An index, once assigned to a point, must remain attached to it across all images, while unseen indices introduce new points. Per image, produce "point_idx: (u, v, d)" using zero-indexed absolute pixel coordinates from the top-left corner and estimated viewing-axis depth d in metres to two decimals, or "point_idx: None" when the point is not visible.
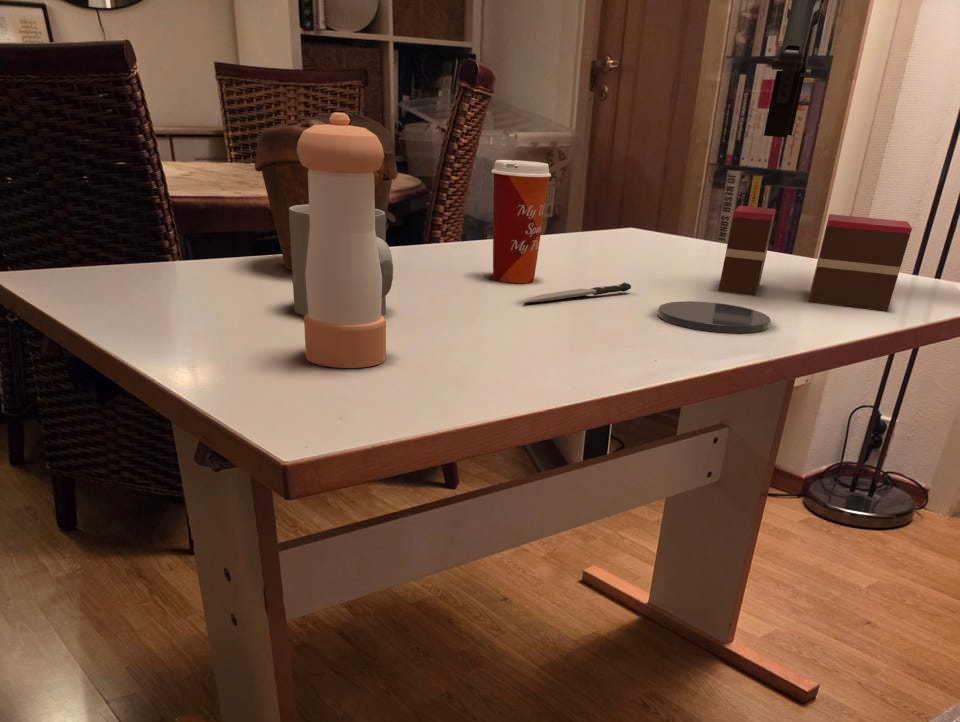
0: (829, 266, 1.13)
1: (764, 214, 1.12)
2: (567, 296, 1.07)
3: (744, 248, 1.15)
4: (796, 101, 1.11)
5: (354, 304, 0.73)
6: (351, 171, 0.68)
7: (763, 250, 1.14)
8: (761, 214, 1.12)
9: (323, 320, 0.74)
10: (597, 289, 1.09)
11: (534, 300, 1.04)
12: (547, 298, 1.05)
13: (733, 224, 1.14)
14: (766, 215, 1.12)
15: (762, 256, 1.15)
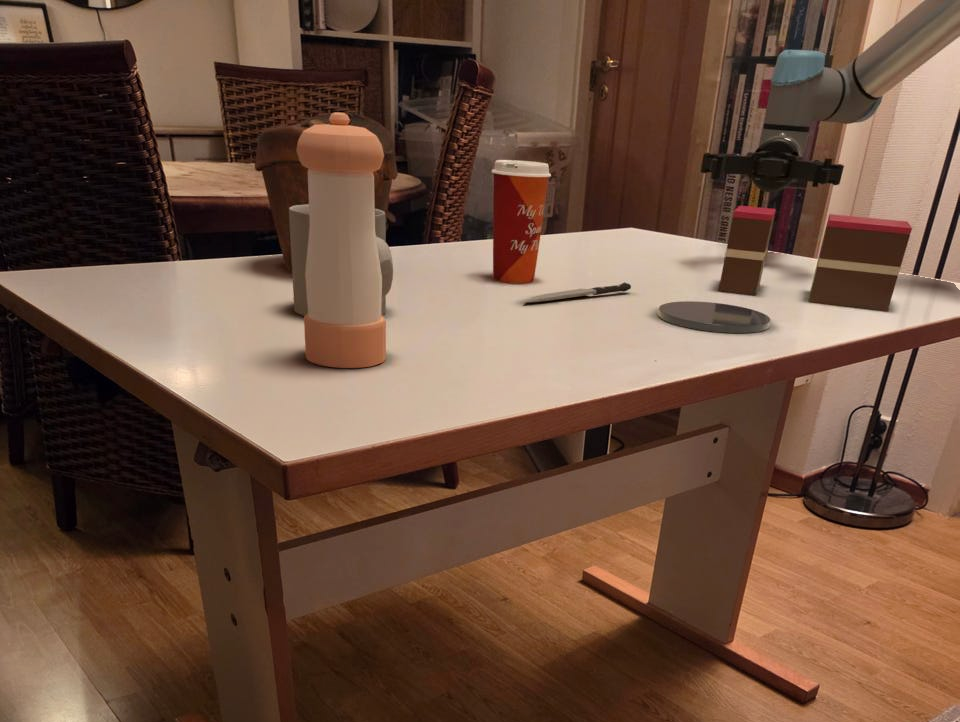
0: (829, 266, 1.13)
1: (764, 214, 1.12)
2: (567, 296, 1.07)
3: (744, 248, 1.15)
4: (722, 174, 1.27)
5: (354, 304, 0.73)
6: (351, 171, 0.68)
7: (763, 250, 1.14)
8: (761, 214, 1.12)
9: (323, 320, 0.74)
10: (597, 289, 1.09)
11: (534, 300, 1.04)
12: (547, 298, 1.05)
13: (733, 224, 1.14)
14: (766, 215, 1.12)
15: (762, 256, 1.15)
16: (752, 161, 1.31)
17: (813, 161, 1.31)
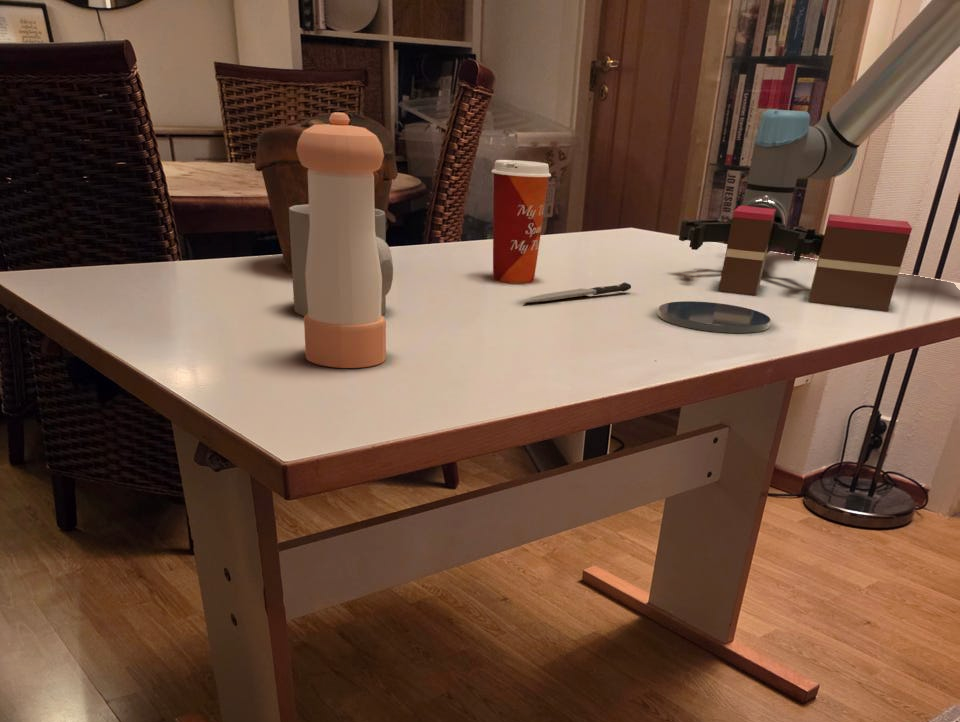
0: (829, 266, 1.13)
1: (764, 214, 1.12)
2: (567, 296, 1.07)
3: (744, 248, 1.15)
4: (700, 244, 1.21)
5: (354, 304, 0.73)
6: (351, 171, 0.68)
7: (763, 250, 1.14)
8: (761, 214, 1.12)
9: (323, 320, 0.74)
10: (597, 289, 1.09)
11: (534, 300, 1.04)
12: (547, 298, 1.05)
13: (733, 224, 1.14)
14: (766, 215, 1.12)
15: (762, 256, 1.15)
16: None
17: (797, 228, 1.26)
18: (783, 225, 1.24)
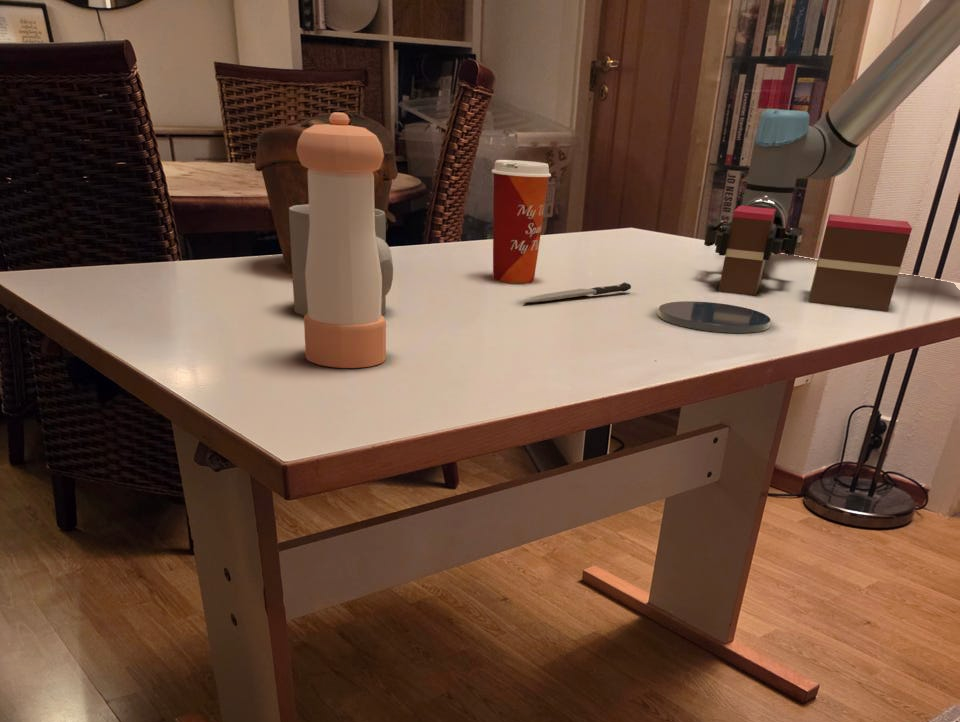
0: (829, 266, 1.13)
1: (764, 214, 1.12)
2: (567, 296, 1.07)
3: (744, 248, 1.15)
4: None
5: (354, 304, 0.73)
6: (351, 171, 0.68)
7: (763, 250, 1.14)
8: (761, 214, 1.12)
9: (323, 320, 0.74)
10: (597, 289, 1.09)
11: (534, 300, 1.04)
12: (547, 298, 1.05)
13: (733, 224, 1.14)
14: (766, 215, 1.12)
15: (762, 256, 1.15)
16: None
17: (792, 229, 1.24)
18: (773, 225, 1.23)
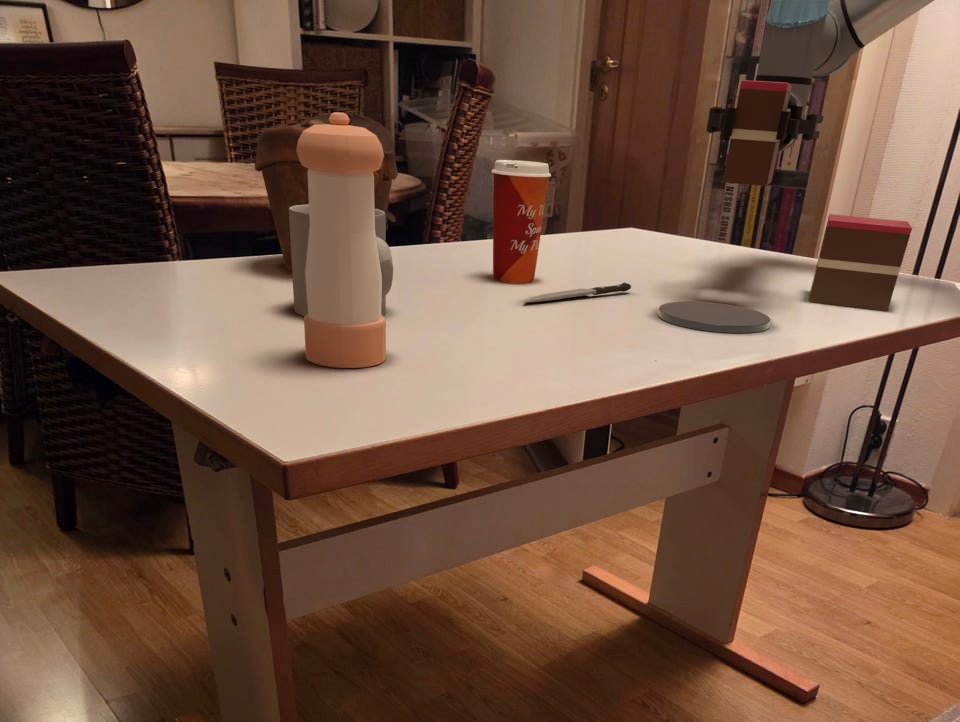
0: (829, 266, 1.13)
1: (778, 83, 0.94)
2: (567, 296, 1.07)
3: (754, 127, 0.96)
4: None
5: (354, 304, 0.73)
6: (351, 171, 0.68)
7: (776, 129, 0.96)
8: (774, 83, 0.94)
9: (323, 320, 0.74)
10: (597, 289, 1.09)
11: (534, 300, 1.04)
12: (547, 298, 1.05)
13: (741, 97, 0.96)
14: (780, 84, 0.94)
15: (775, 136, 0.96)
16: None
17: None
18: (788, 109, 1.05)
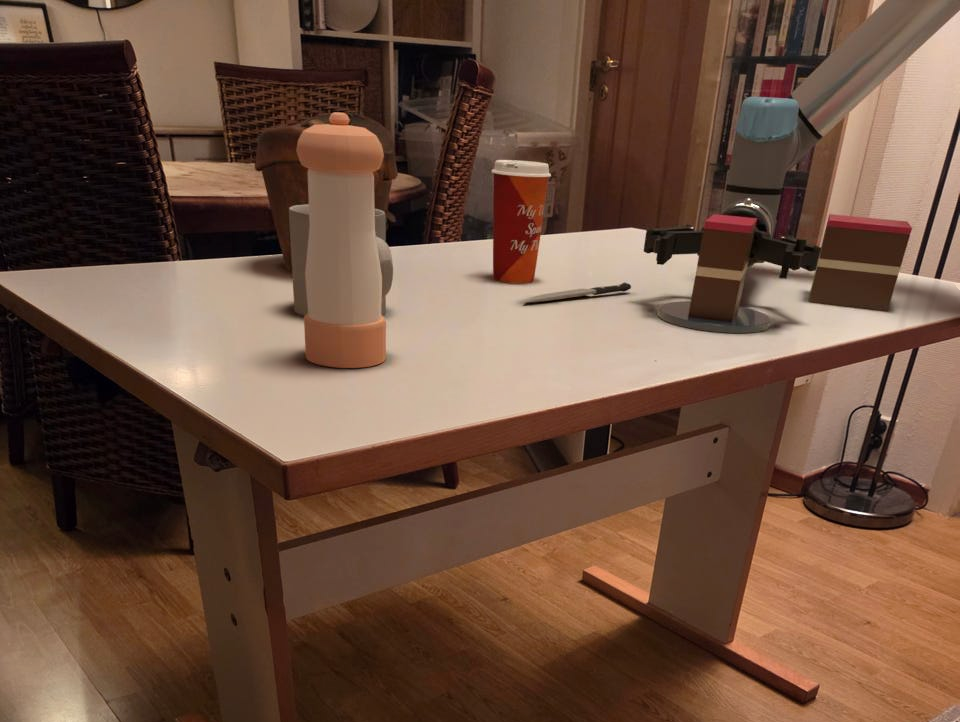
0: (829, 266, 1.13)
1: (741, 225, 0.93)
2: (567, 296, 1.07)
3: (718, 266, 0.95)
4: (668, 257, 1.01)
5: (354, 304, 0.73)
6: (351, 171, 0.68)
7: (741, 268, 0.95)
8: (738, 225, 0.93)
9: (323, 320, 0.74)
10: (597, 289, 1.09)
11: (534, 300, 1.04)
12: (547, 298, 1.05)
13: (705, 237, 0.95)
14: (744, 226, 0.93)
15: (740, 275, 0.95)
16: None
17: (784, 237, 1.05)
18: (768, 234, 1.04)
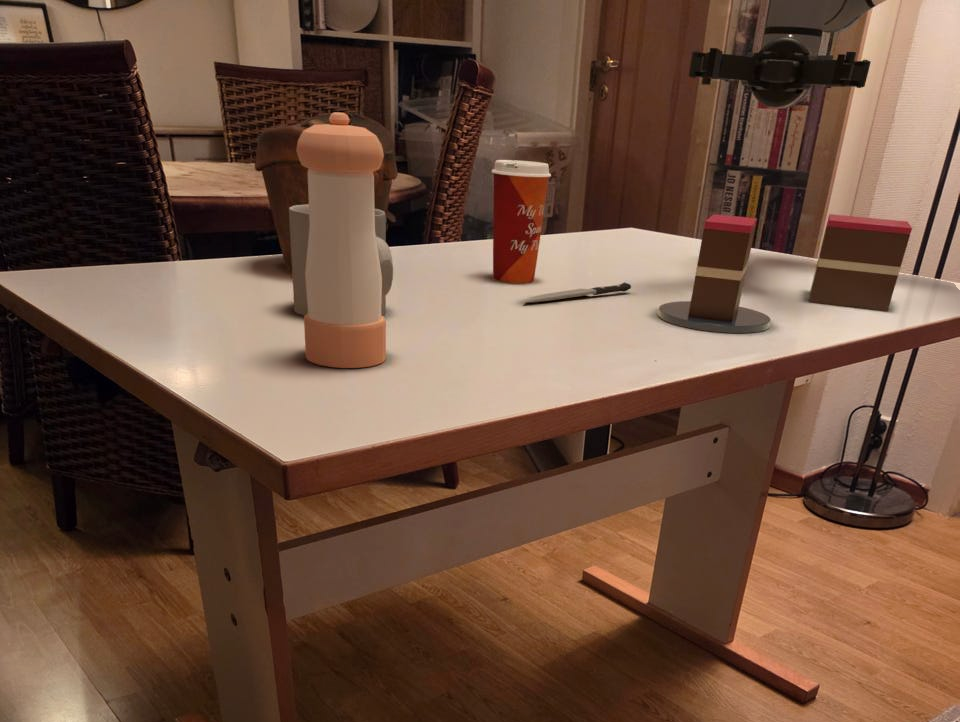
0: (829, 266, 1.13)
1: (741, 225, 0.93)
2: (567, 296, 1.07)
3: (718, 266, 0.95)
4: (716, 75, 1.00)
5: (354, 304, 0.73)
6: (351, 171, 0.68)
7: (741, 268, 0.95)
8: (738, 225, 0.93)
9: (323, 320, 0.74)
10: (597, 289, 1.09)
11: (534, 300, 1.04)
12: (547, 298, 1.05)
13: (705, 237, 0.95)
14: (744, 226, 0.93)
15: (740, 275, 0.95)
16: (753, 63, 1.05)
17: None
18: (814, 57, 1.03)
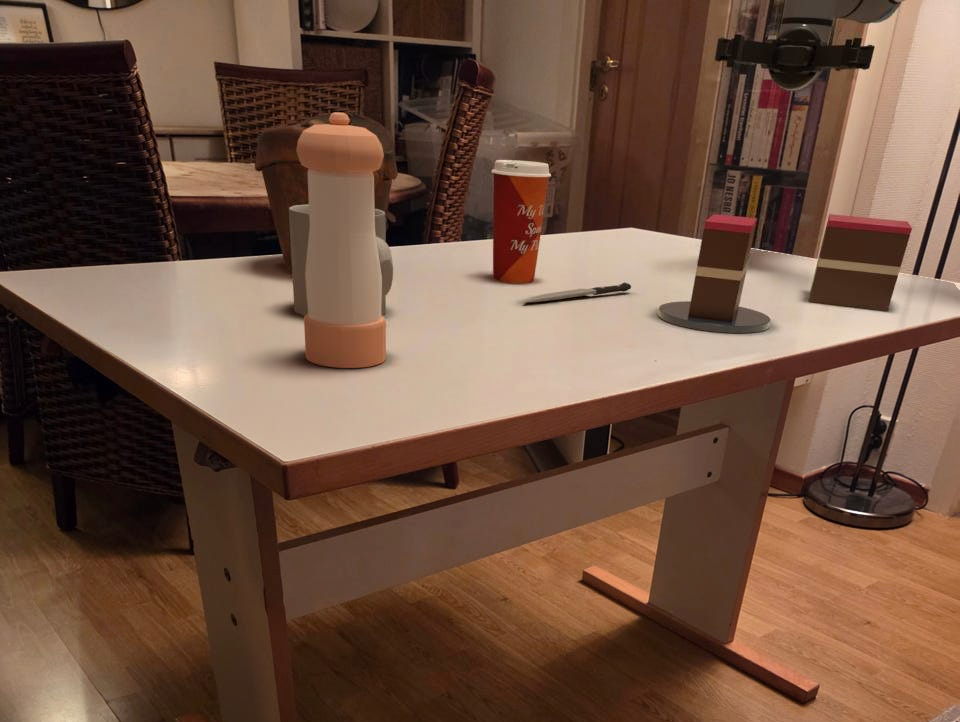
0: (829, 266, 1.13)
1: (741, 225, 0.93)
2: (567, 296, 1.07)
3: (718, 266, 0.95)
4: (739, 58, 1.14)
5: (354, 304, 0.73)
6: (351, 171, 0.68)
7: (741, 268, 0.95)
8: (738, 225, 0.93)
9: (323, 320, 0.74)
10: (597, 289, 1.09)
11: (534, 300, 1.04)
12: (547, 298, 1.05)
13: (705, 237, 0.95)
14: (744, 226, 0.93)
15: (740, 275, 0.95)
16: (772, 49, 1.19)
17: None
18: (825, 43, 1.17)
